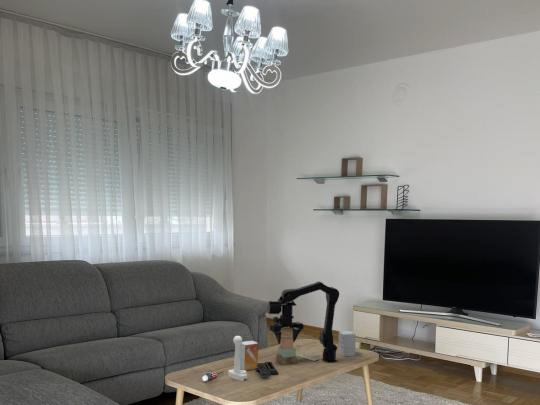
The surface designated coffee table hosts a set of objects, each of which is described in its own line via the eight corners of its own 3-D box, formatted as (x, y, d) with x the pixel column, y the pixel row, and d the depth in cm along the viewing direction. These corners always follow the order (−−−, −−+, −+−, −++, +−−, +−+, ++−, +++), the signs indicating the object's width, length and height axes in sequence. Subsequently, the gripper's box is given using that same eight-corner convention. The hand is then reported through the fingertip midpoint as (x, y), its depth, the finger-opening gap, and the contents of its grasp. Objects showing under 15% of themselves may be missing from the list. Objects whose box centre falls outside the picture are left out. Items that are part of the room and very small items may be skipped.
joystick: (226, 375, 242) (227, 334, 242) (238, 372, 247) (239, 331, 247) (240, 381, 234) (241, 338, 234) (252, 378, 238) (253, 336, 239)
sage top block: (289, 352, 270) (289, 345, 270) (295, 356, 264) (295, 348, 264) (278, 354, 267) (278, 346, 267) (284, 357, 261) (284, 350, 261)
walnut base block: (288, 359, 271) (288, 352, 271) (296, 364, 264) (296, 356, 264) (275, 361, 267) (276, 354, 267) (283, 365, 260) (283, 358, 260)
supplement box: (349, 352, 287) (350, 330, 288) (355, 356, 280) (355, 333, 280) (338, 353, 285) (338, 331, 286) (343, 356, 278) (343, 334, 278)
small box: (244, 371, 249) (245, 345, 249) (238, 367, 254) (238, 342, 255) (257, 368, 254) (258, 343, 254) (251, 365, 259) (252, 340, 259)
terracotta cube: (288, 346, 269) (288, 336, 269) (293, 348, 265) (293, 338, 265) (280, 347, 267) (280, 337, 267) (284, 349, 262) (285, 339, 263)
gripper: (293, 309, 278) (292, 337, 277) (264, 312, 268) (263, 341, 268) (304, 313, 268) (304, 342, 268) (275, 316, 259) (274, 346, 258)
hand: (286, 343), depth 266 cm, fingers open, 9 cm apart
